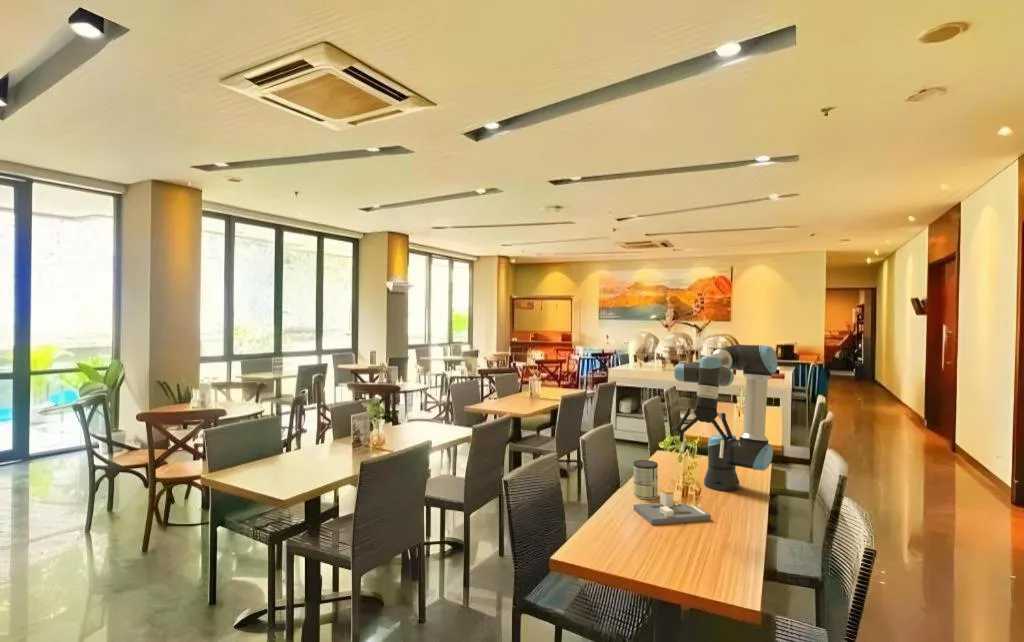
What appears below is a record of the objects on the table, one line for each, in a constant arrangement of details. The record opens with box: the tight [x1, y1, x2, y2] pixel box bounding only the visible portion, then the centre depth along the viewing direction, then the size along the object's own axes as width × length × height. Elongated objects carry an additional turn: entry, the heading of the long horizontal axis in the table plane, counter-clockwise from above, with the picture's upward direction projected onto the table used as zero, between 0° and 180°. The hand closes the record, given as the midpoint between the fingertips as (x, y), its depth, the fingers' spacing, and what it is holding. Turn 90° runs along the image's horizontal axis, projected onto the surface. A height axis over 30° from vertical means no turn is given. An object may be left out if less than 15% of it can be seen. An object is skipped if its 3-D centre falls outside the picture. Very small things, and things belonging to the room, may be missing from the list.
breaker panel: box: [633, 501, 712, 526], centre depth 209 cm, size 24×16×4 cm, turn 101°
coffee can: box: [632, 459, 659, 500], centre depth 232 cm, size 10×10×14 cm
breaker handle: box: [659, 487, 674, 507], centre depth 213 cm, size 3×5×6 cm, turn 11°
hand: (701, 454), depth 200 cm, fingers open, 13 cm apart
